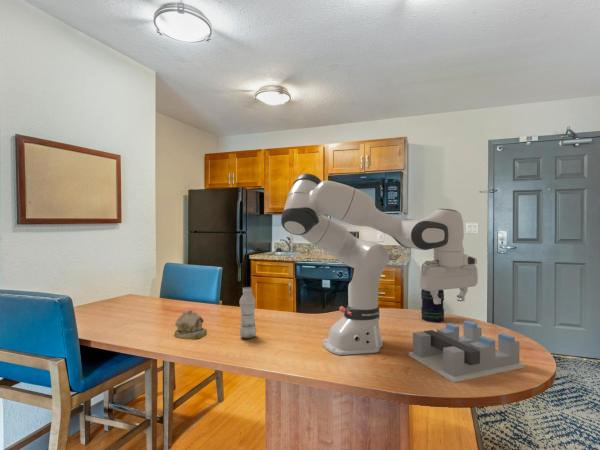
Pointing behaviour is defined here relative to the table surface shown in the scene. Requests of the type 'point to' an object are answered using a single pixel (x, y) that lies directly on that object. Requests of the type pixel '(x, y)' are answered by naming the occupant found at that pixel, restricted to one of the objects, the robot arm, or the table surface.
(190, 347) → the table surface
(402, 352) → the table surface
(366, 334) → the robot arm
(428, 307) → the black ribbed barrel
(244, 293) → the plastic bottle
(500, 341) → the grey slotted fixture rack
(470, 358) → the dark square rod
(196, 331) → the ceramic model
